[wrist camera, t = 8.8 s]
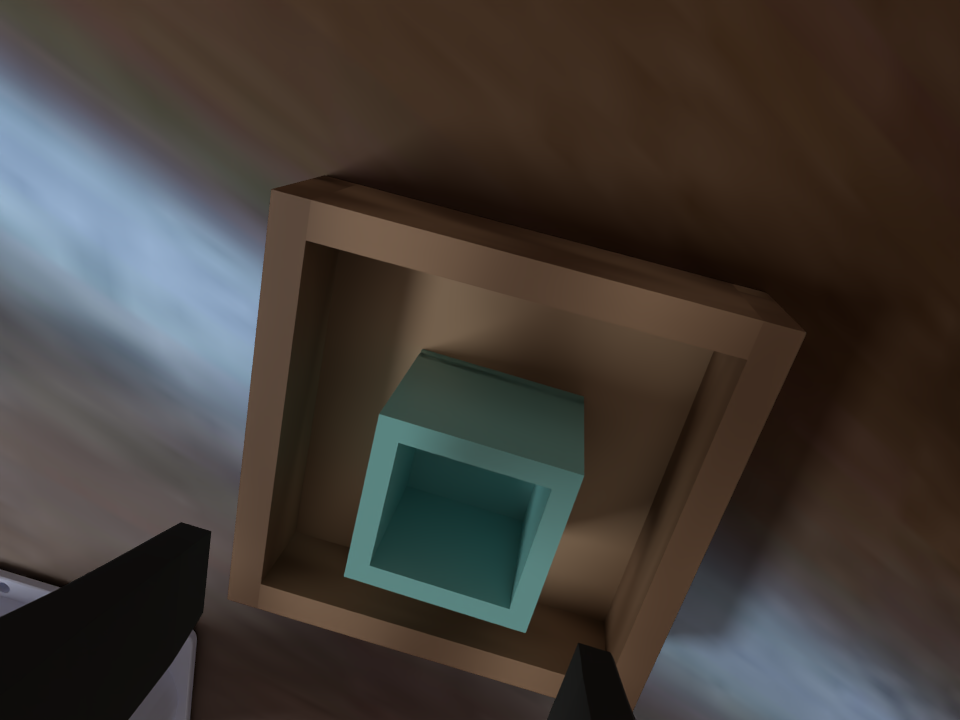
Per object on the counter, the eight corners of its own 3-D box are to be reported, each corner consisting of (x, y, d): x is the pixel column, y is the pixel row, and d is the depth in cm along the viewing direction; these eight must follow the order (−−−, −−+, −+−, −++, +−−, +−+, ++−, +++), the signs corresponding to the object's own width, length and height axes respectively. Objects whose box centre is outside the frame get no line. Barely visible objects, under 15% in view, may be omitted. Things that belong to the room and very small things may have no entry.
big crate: (275, 532, 24) (227, 599, 21) (324, 175, 19) (271, 189, 16) (622, 634, 23) (628, 720, 20) (766, 292, 18) (806, 332, 15)
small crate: (390, 485, 21) (343, 576, 17) (422, 348, 20) (379, 413, 15) (536, 530, 21) (525, 633, 17) (583, 396, 19) (584, 475, 15)
